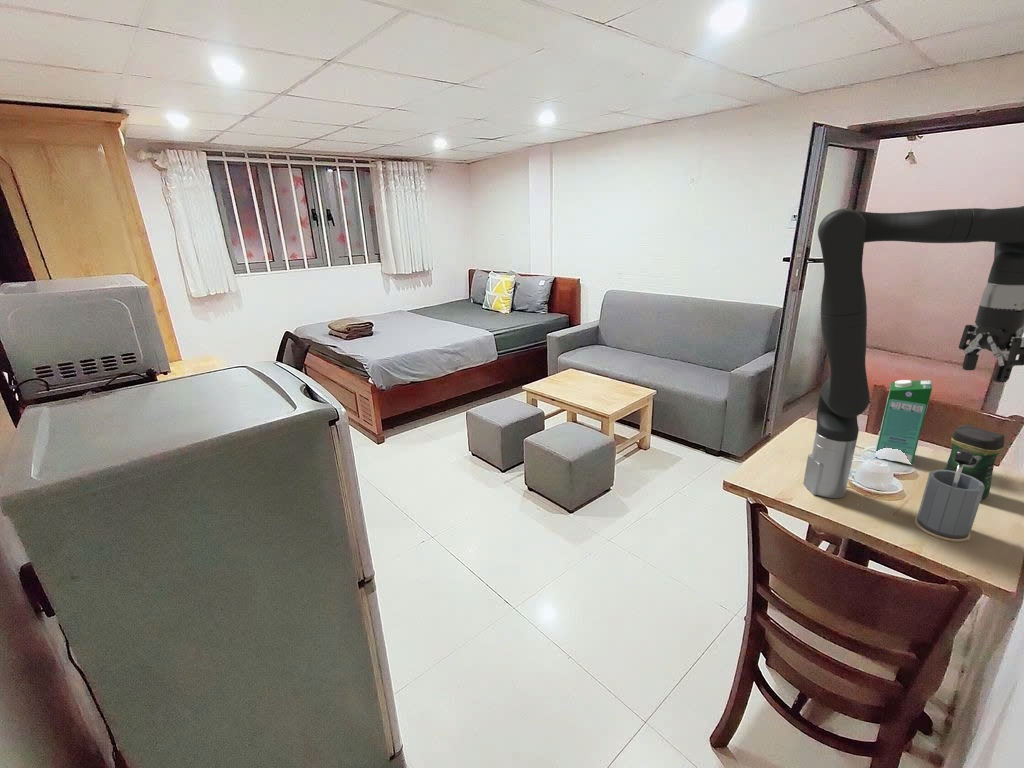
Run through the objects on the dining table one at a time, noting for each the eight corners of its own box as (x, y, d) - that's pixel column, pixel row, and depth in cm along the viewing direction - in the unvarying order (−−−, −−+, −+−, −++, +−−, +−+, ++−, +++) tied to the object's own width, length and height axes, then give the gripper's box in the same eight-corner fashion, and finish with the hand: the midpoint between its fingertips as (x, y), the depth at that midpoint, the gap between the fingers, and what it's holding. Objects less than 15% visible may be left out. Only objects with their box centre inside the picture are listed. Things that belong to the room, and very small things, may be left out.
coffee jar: (992, 495, 124) (1013, 432, 118) (977, 504, 121) (998, 440, 115) (947, 479, 132) (965, 419, 126) (932, 486, 129) (950, 426, 123)
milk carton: (876, 446, 152) (893, 374, 144) (912, 454, 147) (931, 379, 138) (874, 457, 146) (891, 383, 137) (911, 465, 140) (932, 388, 132)
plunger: (938, 530, 109) (960, 458, 103) (918, 514, 116) (937, 445, 109) (969, 531, 109) (993, 459, 102) (947, 514, 115) (968, 445, 109)
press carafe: (934, 541, 109) (949, 491, 104) (904, 515, 118) (917, 468, 114) (981, 542, 108) (998, 491, 103) (948, 516, 117) (962, 469, 112)
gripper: (958, 299, 107) (941, 366, 112) (1014, 311, 94) (991, 386, 99) (995, 298, 106) (976, 366, 111) (1056, 309, 93) (1031, 386, 98)
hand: (983, 375), depth 105 cm, fingers open, 8 cm apart
